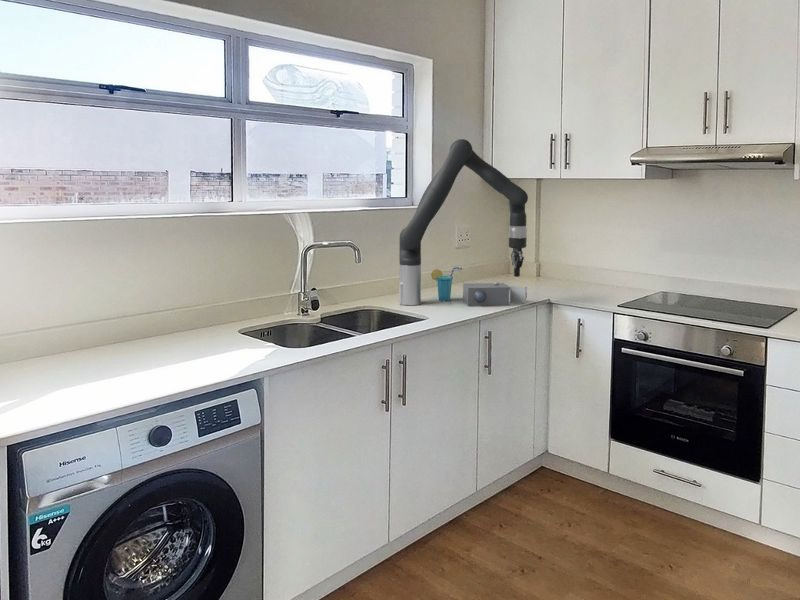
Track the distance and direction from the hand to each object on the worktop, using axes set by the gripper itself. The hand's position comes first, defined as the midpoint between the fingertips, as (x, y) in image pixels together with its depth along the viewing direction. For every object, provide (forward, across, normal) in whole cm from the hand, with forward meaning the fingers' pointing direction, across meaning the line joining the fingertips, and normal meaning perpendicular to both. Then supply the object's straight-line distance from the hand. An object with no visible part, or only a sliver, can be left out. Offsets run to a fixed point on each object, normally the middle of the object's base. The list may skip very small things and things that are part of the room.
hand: (516, 276), depth 297 cm
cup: (+12, -11, -29) cm, 33 cm away
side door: (+12, -4, 0) cm, 12 cm away
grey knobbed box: (+12, -2, -13) cm, 18 cm away
